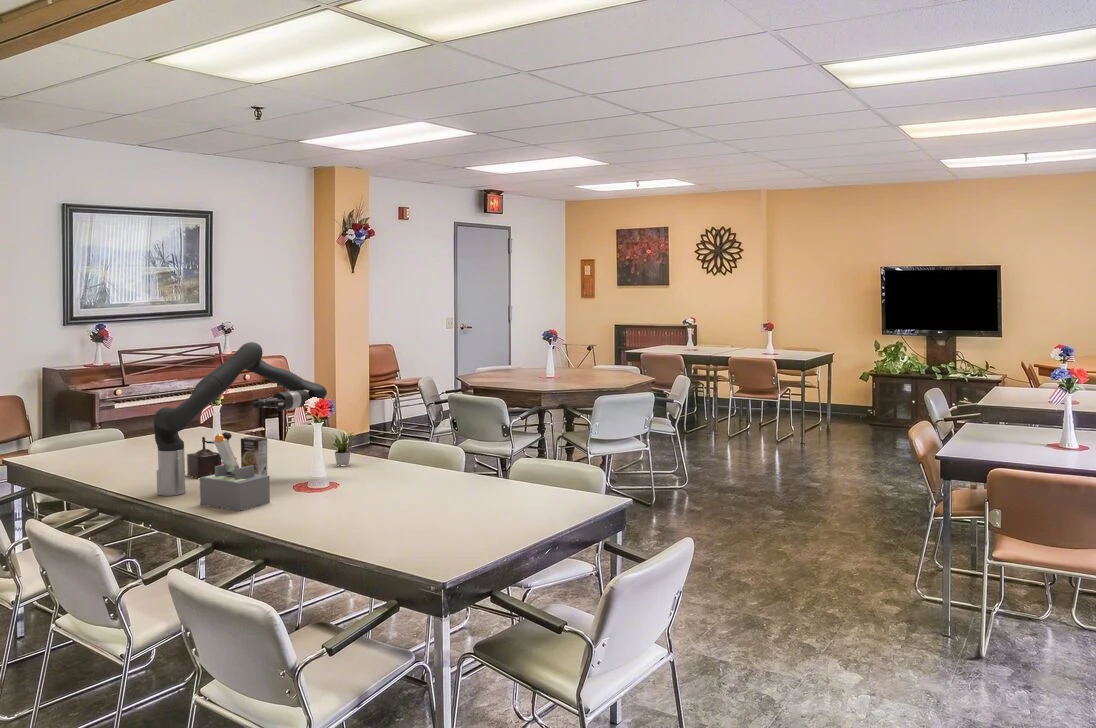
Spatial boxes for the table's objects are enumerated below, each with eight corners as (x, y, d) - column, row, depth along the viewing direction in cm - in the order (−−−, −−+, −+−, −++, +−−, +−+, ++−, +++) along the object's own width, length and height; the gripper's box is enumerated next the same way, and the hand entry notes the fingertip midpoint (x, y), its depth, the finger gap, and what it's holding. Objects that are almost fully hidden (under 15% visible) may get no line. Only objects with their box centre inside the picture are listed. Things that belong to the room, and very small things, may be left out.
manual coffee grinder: (199, 479, 337) (198, 436, 336) (186, 475, 344) (185, 433, 343) (234, 473, 349) (233, 432, 348) (221, 469, 356) (220, 429, 355)
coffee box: (240, 476, 344) (239, 438, 343) (250, 473, 350) (249, 436, 349) (258, 477, 341) (257, 439, 340) (268, 474, 347) (267, 437, 346)
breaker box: (240, 511, 287) (239, 472, 286) (200, 504, 296) (199, 466, 295) (269, 502, 299) (269, 465, 298) (231, 496, 308) (230, 460, 307)
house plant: (366, 462, 374) (365, 427, 373) (356, 468, 360) (355, 432, 359) (336, 461, 375) (335, 426, 374) (325, 467, 362) (324, 431, 360)
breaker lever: (238, 478, 295) (220, 438, 286) (226, 476, 297) (208, 436, 289) (244, 473, 297) (227, 433, 289) (233, 471, 300) (215, 431, 292)
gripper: (274, 390, 332) (241, 394, 316) (299, 392, 326) (266, 396, 310) (275, 408, 332) (242, 413, 317) (299, 410, 326) (267, 416, 311)
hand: (254, 405), depth 314 cm, fingers closed
